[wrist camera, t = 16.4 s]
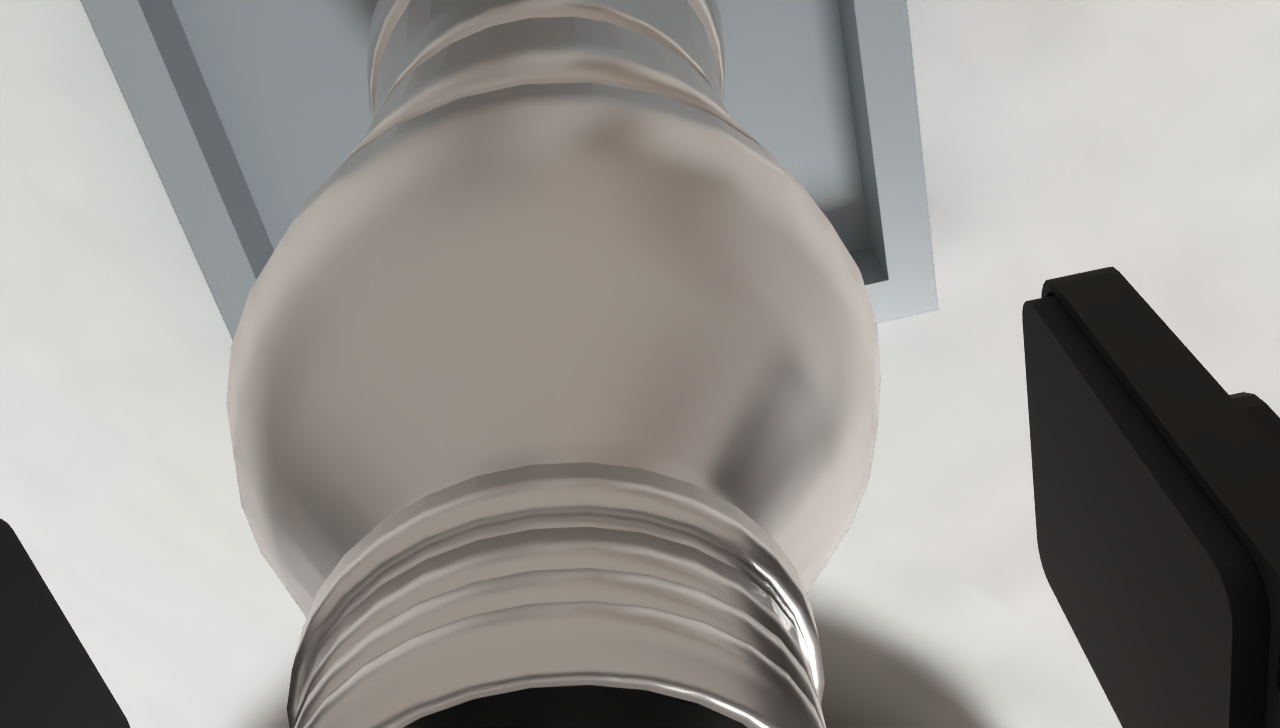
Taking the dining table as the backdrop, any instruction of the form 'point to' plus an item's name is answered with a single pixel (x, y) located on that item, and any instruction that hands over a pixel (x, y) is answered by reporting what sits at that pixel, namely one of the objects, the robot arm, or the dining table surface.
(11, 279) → the dining table surface
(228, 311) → the grey square tray
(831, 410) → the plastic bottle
